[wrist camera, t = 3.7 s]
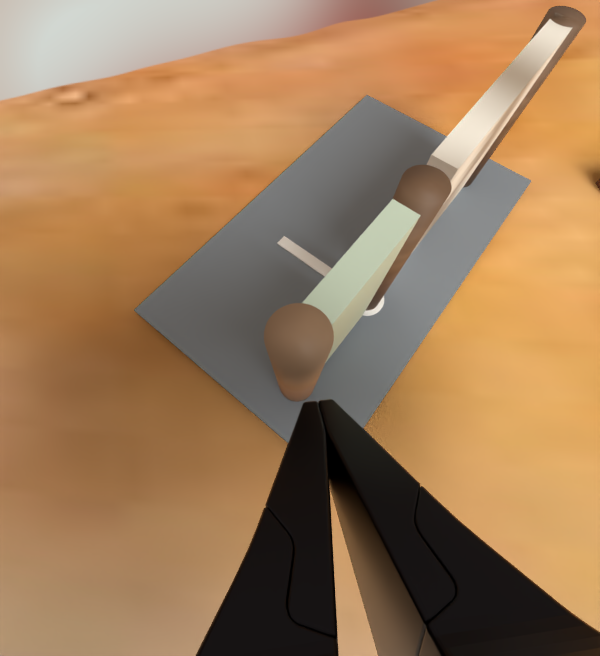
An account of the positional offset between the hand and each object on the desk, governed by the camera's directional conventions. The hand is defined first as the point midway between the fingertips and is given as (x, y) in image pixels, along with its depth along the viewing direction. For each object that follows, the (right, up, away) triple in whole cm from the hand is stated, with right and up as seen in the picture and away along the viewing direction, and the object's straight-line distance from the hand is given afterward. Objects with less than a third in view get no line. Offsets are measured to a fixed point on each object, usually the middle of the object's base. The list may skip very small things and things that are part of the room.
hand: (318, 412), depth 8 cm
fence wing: (+1, +1, +7) cm, 7 cm away
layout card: (+3, +8, +11) cm, 14 cm away
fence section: (+7, +9, +11) cm, 15 cm away
